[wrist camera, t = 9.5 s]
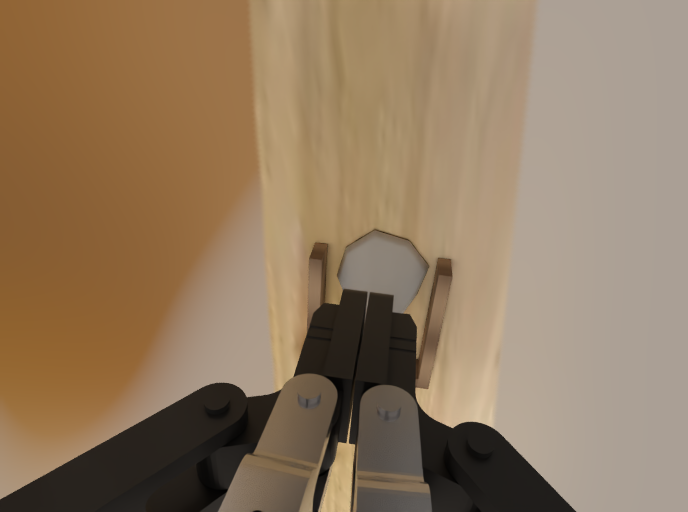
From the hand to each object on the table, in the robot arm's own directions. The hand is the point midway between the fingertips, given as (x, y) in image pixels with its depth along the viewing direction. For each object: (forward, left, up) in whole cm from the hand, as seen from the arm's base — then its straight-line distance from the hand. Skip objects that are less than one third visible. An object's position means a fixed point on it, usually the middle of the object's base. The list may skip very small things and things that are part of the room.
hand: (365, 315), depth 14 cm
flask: (+13, 0, -23) cm, 26 cm away
